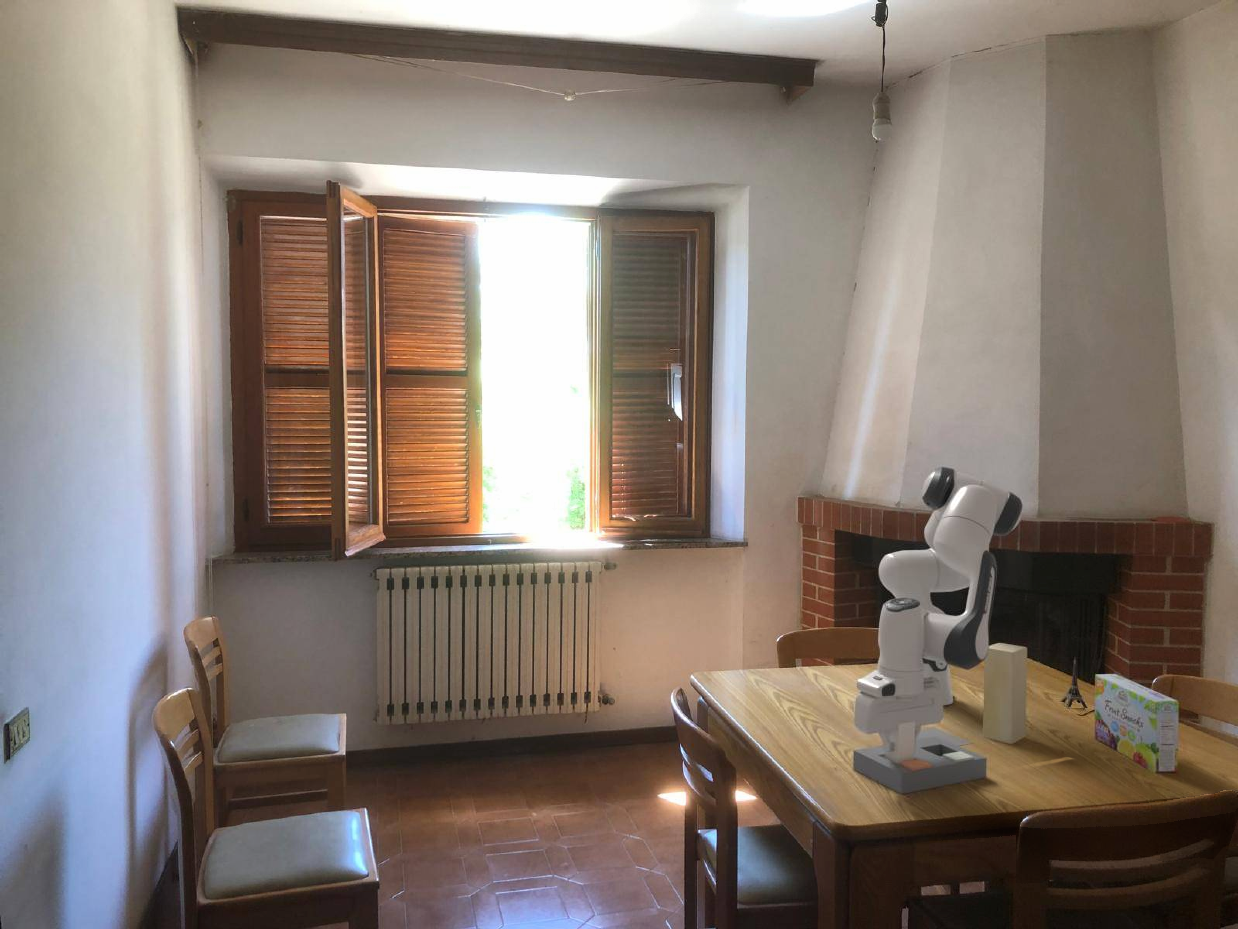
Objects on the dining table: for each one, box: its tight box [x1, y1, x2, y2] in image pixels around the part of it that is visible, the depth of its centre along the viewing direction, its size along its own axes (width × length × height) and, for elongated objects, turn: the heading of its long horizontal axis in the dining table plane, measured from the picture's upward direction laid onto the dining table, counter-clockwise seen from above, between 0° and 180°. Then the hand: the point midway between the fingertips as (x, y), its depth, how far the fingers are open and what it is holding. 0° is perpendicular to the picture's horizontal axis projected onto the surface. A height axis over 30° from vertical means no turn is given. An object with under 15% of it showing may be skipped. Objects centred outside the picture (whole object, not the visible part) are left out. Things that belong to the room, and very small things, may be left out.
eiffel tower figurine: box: [1059, 658, 1092, 709], centre depth 233 cm, size 15×10×13 cm
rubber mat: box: [916, 727, 974, 747], centre depth 205 cm, size 12×12×1 cm
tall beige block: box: [982, 642, 1028, 745], centre depth 207 cm, size 8×7×21 cm
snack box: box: [1094, 673, 1180, 774], centre depth 197 cm, size 21×6×15 cm, turn 5°
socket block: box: [852, 736, 988, 795], centre depth 185 cm, size 14×22×4 cm, turn 115°
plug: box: [885, 721, 915, 764], centre depth 182 cm, size 4×4×10 cm
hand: (899, 749), depth 183 cm, fingers closed on plug, 4 cm apart
